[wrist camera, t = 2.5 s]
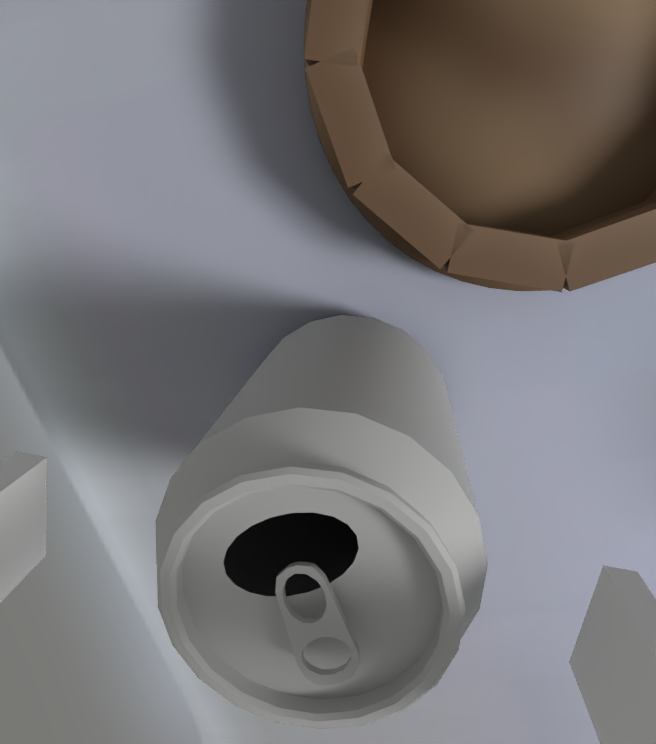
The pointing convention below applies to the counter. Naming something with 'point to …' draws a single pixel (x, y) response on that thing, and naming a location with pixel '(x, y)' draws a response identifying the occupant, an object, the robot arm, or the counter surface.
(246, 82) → the counter surface
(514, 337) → the counter surface
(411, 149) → the tray
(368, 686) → the can
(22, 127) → the counter surface
